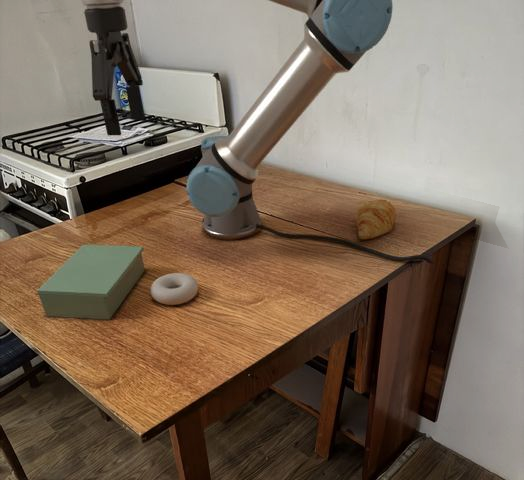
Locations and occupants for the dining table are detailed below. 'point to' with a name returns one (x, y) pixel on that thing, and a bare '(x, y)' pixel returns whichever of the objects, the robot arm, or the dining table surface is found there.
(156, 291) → the donut
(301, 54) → the robot arm
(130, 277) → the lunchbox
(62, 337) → the dining table surface
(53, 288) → the green box lid
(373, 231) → the croissant
